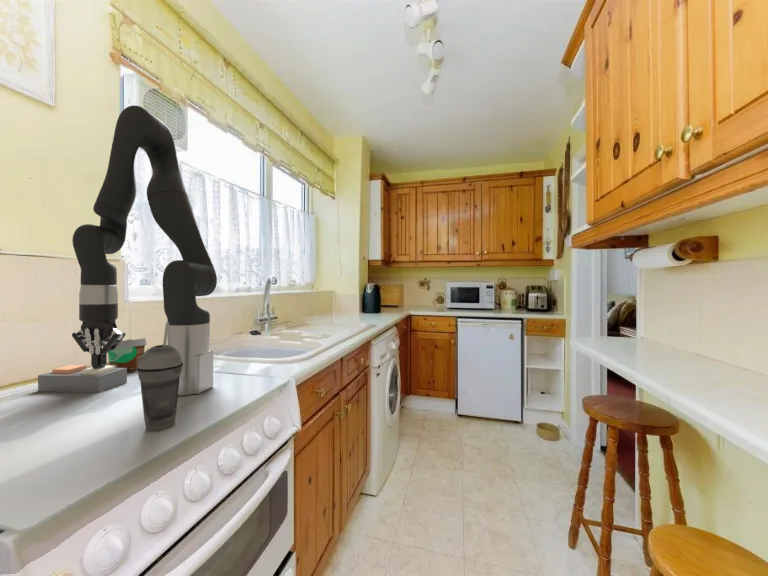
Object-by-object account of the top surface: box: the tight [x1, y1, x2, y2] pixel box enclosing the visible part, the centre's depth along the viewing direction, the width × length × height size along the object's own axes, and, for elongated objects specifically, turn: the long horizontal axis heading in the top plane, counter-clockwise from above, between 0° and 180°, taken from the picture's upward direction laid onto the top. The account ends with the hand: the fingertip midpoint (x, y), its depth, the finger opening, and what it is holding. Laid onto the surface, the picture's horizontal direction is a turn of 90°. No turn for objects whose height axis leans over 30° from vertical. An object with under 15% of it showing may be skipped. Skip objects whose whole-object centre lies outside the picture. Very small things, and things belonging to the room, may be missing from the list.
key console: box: [37, 366, 128, 393], centre depth 82 cm, size 16×8×4 cm, turn 88°
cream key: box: [82, 365, 115, 375], centre depth 82 cm, size 4×4×4 cm
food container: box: [107, 338, 147, 373], centre depth 97 cm, size 12×6×10 cm, turn 81°
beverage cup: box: [136, 321, 183, 432], centre depth 60 cm, size 7×7×20 cm
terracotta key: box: [51, 364, 88, 374], centre depth 82 cm, size 4×4×4 cm
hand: (98, 367), depth 82 cm, fingers closed
